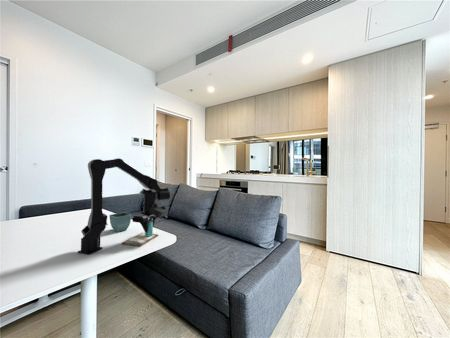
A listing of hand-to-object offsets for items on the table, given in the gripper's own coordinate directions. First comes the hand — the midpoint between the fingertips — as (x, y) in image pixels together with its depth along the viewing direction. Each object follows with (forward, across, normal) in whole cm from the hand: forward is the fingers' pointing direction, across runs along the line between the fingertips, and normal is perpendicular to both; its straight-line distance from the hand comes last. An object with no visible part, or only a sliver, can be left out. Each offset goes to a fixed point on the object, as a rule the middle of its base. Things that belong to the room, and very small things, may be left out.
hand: (148, 231), depth 99 cm
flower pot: (+3, +5, +22) cm, 23 cm away
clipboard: (+3, -4, +2) cm, 5 cm away
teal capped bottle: (+2, 0, 0) cm, 2 cm away
